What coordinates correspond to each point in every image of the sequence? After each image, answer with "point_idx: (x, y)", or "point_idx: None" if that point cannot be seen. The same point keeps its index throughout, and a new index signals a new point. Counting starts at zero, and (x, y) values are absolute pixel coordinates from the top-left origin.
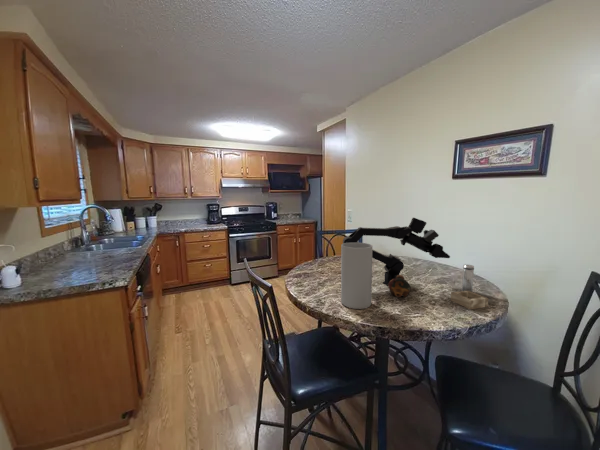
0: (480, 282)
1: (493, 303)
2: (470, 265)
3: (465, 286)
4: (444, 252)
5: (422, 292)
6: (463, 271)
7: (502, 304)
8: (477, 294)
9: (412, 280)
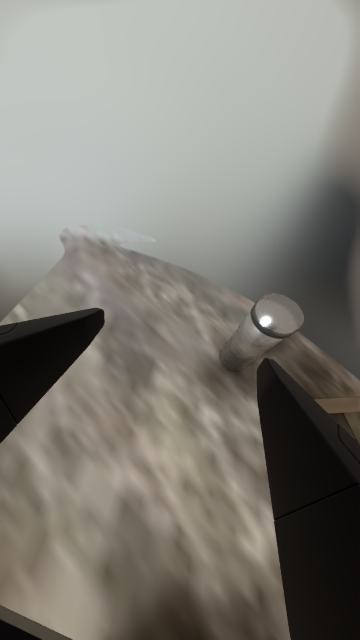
0: (173, 274)
1: (315, 362)
2: (276, 300)
3: (248, 364)
4: (358, 452)
5: (234, 597)
6: (261, 342)
7: (317, 347)
8: (342, 401)
9: (62, 500)
